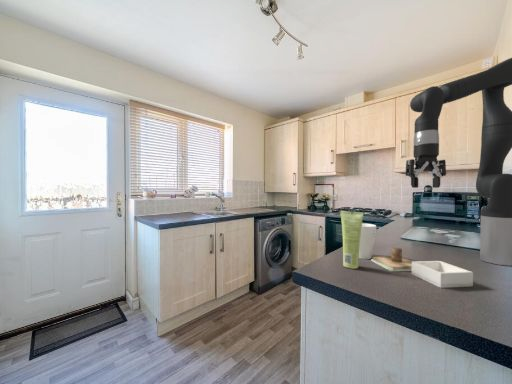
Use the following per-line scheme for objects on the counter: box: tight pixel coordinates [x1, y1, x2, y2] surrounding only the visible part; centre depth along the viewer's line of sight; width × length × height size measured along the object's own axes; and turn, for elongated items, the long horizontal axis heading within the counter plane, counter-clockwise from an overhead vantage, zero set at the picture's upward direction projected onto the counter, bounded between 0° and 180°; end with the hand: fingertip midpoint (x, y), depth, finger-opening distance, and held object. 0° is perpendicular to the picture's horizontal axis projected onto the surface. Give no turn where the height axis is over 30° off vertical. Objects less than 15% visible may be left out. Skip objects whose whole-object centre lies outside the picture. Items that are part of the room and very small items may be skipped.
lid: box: [372, 247, 414, 270], centre depth 79 cm, size 11×11×5 cm
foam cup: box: [359, 222, 377, 260], centre depth 89 cm, size 10×9×13 cm
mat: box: [370, 258, 412, 273], centre depth 79 cm, size 12×11×1 cm
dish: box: [411, 260, 474, 289], centre depth 66 cm, size 10×10×4 cm
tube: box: [339, 210, 364, 270], centre depth 77 cm, size 6×5×20 cm
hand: (425, 187), depth 82 cm, fingers open, 8 cm apart
